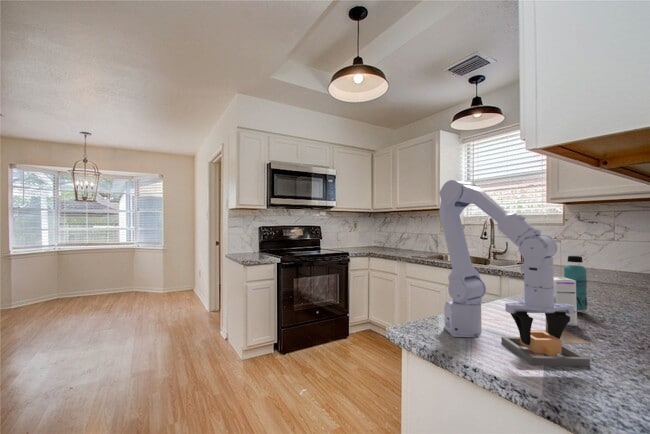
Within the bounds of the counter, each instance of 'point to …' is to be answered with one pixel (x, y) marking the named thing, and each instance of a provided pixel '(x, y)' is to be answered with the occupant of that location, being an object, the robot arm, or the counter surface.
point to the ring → (544, 343)
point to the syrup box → (566, 295)
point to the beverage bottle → (578, 281)
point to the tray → (571, 360)
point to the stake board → (567, 337)
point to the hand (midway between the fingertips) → (539, 343)
